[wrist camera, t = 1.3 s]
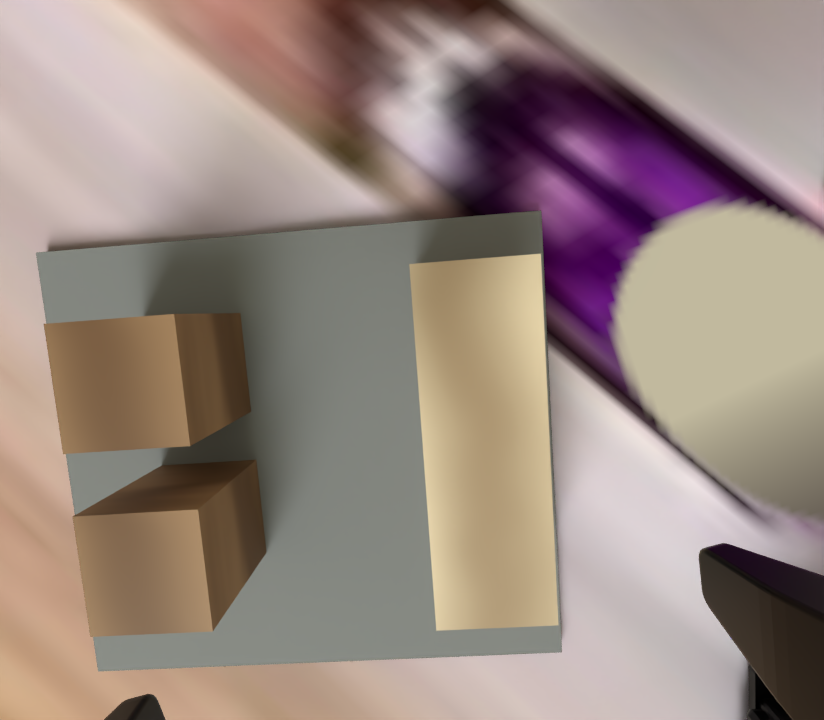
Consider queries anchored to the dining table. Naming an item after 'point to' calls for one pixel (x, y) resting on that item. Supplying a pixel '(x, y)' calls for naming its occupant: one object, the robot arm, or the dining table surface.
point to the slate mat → (305, 432)
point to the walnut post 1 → (147, 380)
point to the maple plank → (486, 441)
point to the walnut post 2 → (171, 548)
